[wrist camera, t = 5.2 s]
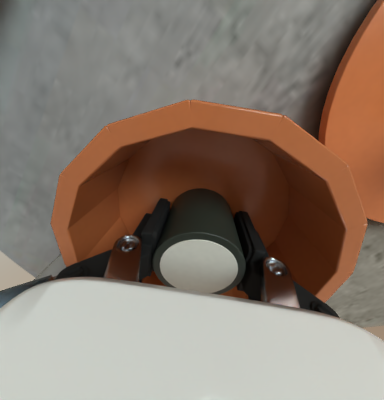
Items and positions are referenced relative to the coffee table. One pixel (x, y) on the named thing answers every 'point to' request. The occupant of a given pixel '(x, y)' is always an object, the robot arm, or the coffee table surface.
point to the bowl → (216, 187)
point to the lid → (360, 112)
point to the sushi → (200, 245)
